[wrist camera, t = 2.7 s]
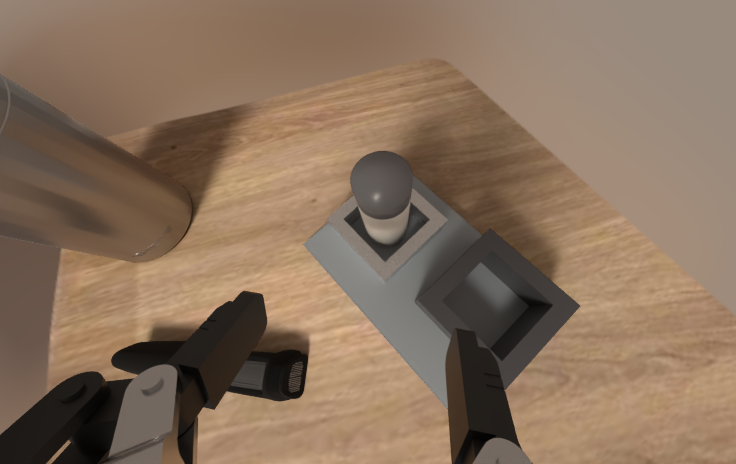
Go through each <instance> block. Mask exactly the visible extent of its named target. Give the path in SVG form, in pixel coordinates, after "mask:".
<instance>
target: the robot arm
mask: <svg viewBox="0 0 736 464" xmlns="http://www.w3.org/2000/svg"><path fill="white" fill-rule="evenodd" d="M191 216H192V204H191V198H190V196H189V194H188V192H187V190H186V189H185V188H184V187H183V186H182V185H181V184H179V183H178V182H177V181H175V180H173V179H172V178H170V177H168V176H167V175H165V174H164V173H162V172H160V171H159V170H157V169H155V168H154V167H152V166H150V165H149V164H147V163H146V162H144V161H143V160H141V159H139V158H138V157H136V156H134V155H133V154H131V153H129V152H128V151H126V150H125V149H123V148H121V147H120V146H118V145H116V144H115V143H113V142H111V141H110V140H108V139H107V138H105V137H103V136H102V135H100V134H98V133H96V132H95V131H93V130H92V129H90V128H88V127H87V126H85V125H84V124H82V123H80V122H78V121H77V120H75V119H74V118H72V117H70V116H69V115H67V114H66V113H64V112H62V111H61V110H59V109H57V108H56V107H54V106H52V105H51V104H49V103H48V102H46V101H44V100H42V99H41V98H39V97H38V96H36V95H34V94H33V93H31V92H29V91H28V90H26V89H25V88H23V87H21V86H20V85H18V84H16V83H15V82H13V81H11V80H10V79H8V78H7V77H5V76H3V75H1V74H0V236H3V237H8V238H13V239H18V240H23V241H29V242H33V243H39V244H44V245H48V246H53V247H59V248H63V249H69V250H74V251H79V252H84V253H88V254H93V255H99V256H104V257H109V258H114V259H119V260H124V261H129V262H147V261H151V260H154V259H156V258H158V257H161V256H163V255H164V254H165V253H167V252H168V251H170V250H171V249H172V248H173V247H174V246H175V245H176V244H177V243H178V242H179V241H180V240H181V238H182V237H183V236H184V234H185V232H186V230H187V228H188V226H189V223H190V220H191ZM266 326H267V315H266V310H265V304H264V298H263V295H262V294H260V293H254V292H248V291H243V292H241V293H240V294H239V295H238V296H237V298H236V299H235V300H234V301H233V302H232V301H228V302H226V303H225V304H223V305H222V306H220V307H218V308H217V309H216V310H215V311H214V312H213V313H212V314H211V315H210V316H209V317H208V318H207V321H205V322H204V323H203V324H202V325H201V326H200V327H199V329H197V330H196V331H195V332H194V334H193V335H192V336H191V337H190V338H189V339H188V340H187V341H186V342H185V343H184V344H183V345H182V347H181V348H180V349H179V350H178V351H177V352H176V353H175V354H174V355H173V356H172V357H171V358H170V360H169V361H168V362H167V363H165V364H164V365H158V366H154V367H152V368H149V369H147V370H145V371H144V372H142V373H141V374H139V375H138V376H137V377H136V378H133V379H124V380H116V381H107V382H106V381H105V379H104V378H103V376H102V375H101V374H100V373H98V372H93V371H91V372H84V373H80V374H77V375H75V376H73V377H70V378H68V379H67V380H65V381H63V382H62V383H60V384H59V385H57V386H56V387H55V388H54V389H52V390H51V391H50V392H49V393H48V394H47V395H46V396H44V397H43V398H42V399H41V400H40V401H39V402H38V403H36V404H35V405H34V406H33V407H32V408H31V409H29V411H27V412H26V413H25V414H24V415H23V416H21V417H20V418H19V419H18V420H17V421H16V422H15V423H13V424H12V425H11V426H10V427H9V428H8V429H7V430H5V431H4V432H3V433H2V434H1V435H0V464H46V463H47V462H48V461H49V460H50V459H51V458H52V456H53V455H54V454H55V453H56V452H57V451H58V450H59V449H60V448H61V447H62V446H63V445H64V444H65V443H66V442H67V441H68V440H69V441H70V442H71V443H70V444H69V445H68V447H67V448H66V449H65V450H64V451H63V452H62V453H61V454H60V455H59V456H58V457H57V458H56V460H55V461H54V462H53V463H52V464H197V441H198V417H197V415H198V414H199V413H200V411H201V410H202V408H203V407H205V408H209V409H214V410H215V408H216V407H217V405H218V403H219V402H220V400H221V399H222V397H223V396H224V394H225V393H226V391H227V389H228V388H229V386H230V385H231V383H232V382H233V380H234V379H235V377H236V375H237V374H238V372H239V371H240V369H241V368H242V366H243V365H244V363H245V361H246V360H247V358H248V357H249V355H250V354H251V352H252V351H253V349H254V348H255V346H256V344H257V343H258V341H259V340H260V338H261V337H262V335H263V333H264V331H265V329H266ZM445 373H446V387H447V401H448V416H449V430H450V444H451V459H452V464H532V463H531V461H530V460H529V458H528V457H527V455H526V454H525V453H524V452H523V450H522V449H521V447H520V444H519V442H518V439H517V435H516V432H515V428H514V424H513V420H512V416H511V412H510V408H509V405H508V401H507V397H506V393H505V391H504V385H503V381H502V379H501V374H500V370H499V366H498V362H497V360H496V359H495V357H494V356H493V354H492V353H491V351H490V350H489V349H488V348H483V347H478V342H477V337H476V333H475V332H474V331H470V330H464V329H458V328H454V330H453V333H452V336H451V339H450V343H449V346H448V350H447V354H446V361H445Z"/></svg>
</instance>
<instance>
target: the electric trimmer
mask: <svg viewBox="0 0 736 464" xmlns="http://www.w3.org/2000/svg"><path fill="white" fill-rule="evenodd" d="M185 342H186V341H156V342H140V343H136V344H133V345H131V346H128V347H126V348H124V349H121V350H120V351H118V352H116V353H115V354H114V355H113V357H112V359H111V362H112V365H113V366H114V367H116V368H118V369H121V370H124V371H127V372H130V373H133V374H137V375H139V374H141V373H142V372H144V371H145V370H147V369H149V368H152V367H154V366H158V365H164V364H165V363H167V362H168V361H169V360H170V358H171V357H172V356H173V355H174V354H175V353H176V352H177V351H178V350H179V349H180V348H181V347H182V345H183V344H184V343H185ZM307 363H308V356H307V355H305V354H301V352H300V351H296V350H285V351H281V352H277V353H272V352H254V351H252V352H251V354H250V355H249V357H248V358H247V360H246V361H245V363H244V365H243V366H242V368H241V369H240V371H239V372H238V374H237V375H236V377H235V379H234V380H233V382H232V383H231V385H230V386H229V388H228V389H227V391H228V392H233V393H238V394H243V395H249V396H254V397H260V398H266V399H270V400H274V401H285V400H290V399H296V398H299V397H301V396H302V394H303V391H304V385H305V378H306V370H307Z"/></svg>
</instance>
